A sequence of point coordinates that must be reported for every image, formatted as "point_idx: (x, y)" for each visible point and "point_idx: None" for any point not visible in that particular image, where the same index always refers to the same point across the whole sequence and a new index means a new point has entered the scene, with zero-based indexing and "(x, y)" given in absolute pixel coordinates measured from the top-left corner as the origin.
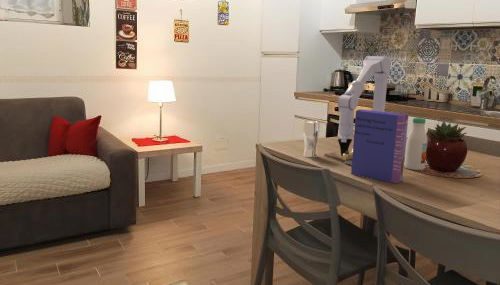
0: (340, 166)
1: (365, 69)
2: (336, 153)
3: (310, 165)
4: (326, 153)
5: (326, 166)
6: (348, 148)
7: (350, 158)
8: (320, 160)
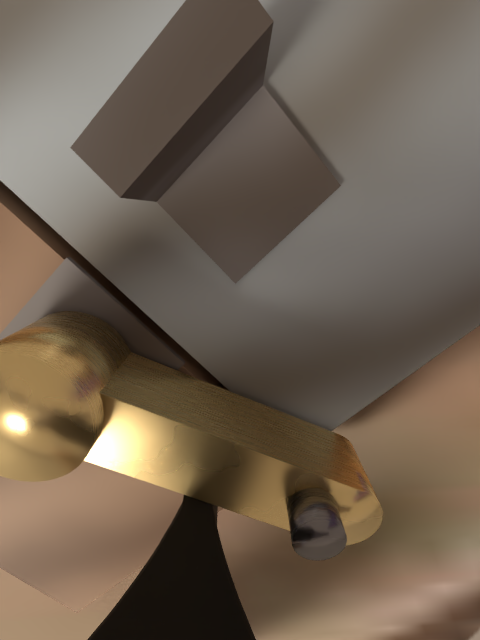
0: (449, 456)
1: None
2: (16, 535)
3: (459, 627)
4: (76, 600)
5: (471, 545)
6: (176, 549)
7: (281, 416)
8: (269, 592)
